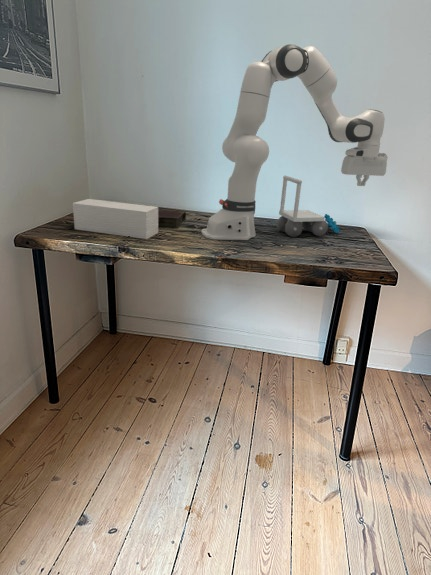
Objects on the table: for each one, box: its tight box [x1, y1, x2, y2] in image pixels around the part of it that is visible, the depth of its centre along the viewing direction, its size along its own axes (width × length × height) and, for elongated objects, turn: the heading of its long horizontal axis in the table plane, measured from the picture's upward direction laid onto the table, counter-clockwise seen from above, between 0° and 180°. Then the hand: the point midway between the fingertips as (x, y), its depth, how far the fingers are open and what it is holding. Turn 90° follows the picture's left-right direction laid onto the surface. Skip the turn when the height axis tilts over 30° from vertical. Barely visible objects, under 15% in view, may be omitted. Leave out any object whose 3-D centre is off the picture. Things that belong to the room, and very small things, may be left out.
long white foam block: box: [72, 198, 159, 240], centre depth 165 cm, size 32×11×11 cm, turn 73°
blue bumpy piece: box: [323, 213, 340, 234], centre depth 183 cm, size 11×6×10 cm
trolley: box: [276, 175, 329, 238], centre depth 173 cm, size 19×14×23 cm
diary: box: [158, 208, 187, 230], centre depth 183 cm, size 19×25×5 cm
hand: (360, 185), depth 177 cm, fingers closed
